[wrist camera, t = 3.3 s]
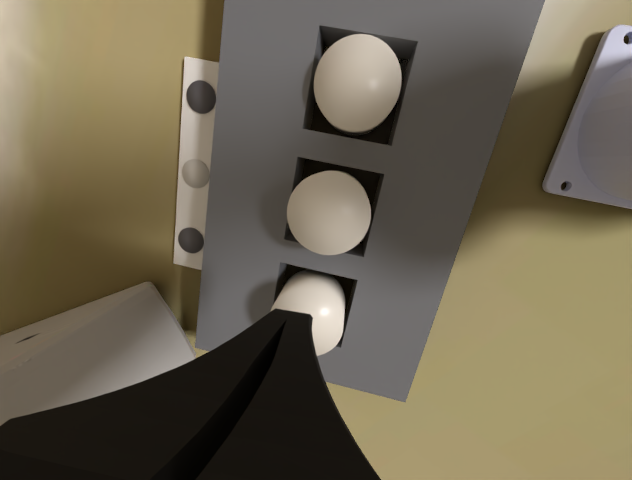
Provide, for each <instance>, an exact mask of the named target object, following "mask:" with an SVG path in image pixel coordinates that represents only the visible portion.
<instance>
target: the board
mask: <svg viewBox="0 0 632 480" xmlns="http://www.w3.org/2000/svg"><path fill="white" fill-rule="evenodd" d="M544 2H545V0H224V12H223V24H222V36H221V47H220V59H219V71H218V83H217V95H216V106H215V118H214V130H213V142H212V154H211V166H210V177H209V189H208V201H207V213H206V225H205V236H204V248H203V260H202V272H201V284H200V296H199V307H198V319H197V331H196V343H195V348H199V349H202V350H206V351H211V350H213V349H215V348H217V347H218V346H220V345H222V344H223V343H225V342H227V341H228V340H230V339H232V338H233V337H235V336H236V335H238V334H239V333H241V332H242V331H244V330H245V329H247V328H248V327H250V326H251V325H253V324H254V323H255V322H257V321H258V320H260V319H261V318H262V317H264V316H265V315H267V314H268V313H269V312H270V311H271V309H272V306H273V305H274V303H275V301H276V299H277V298H278V296H279V294H280V293H281V291H282V289H283V285H284V279H285V273H286V267H287V264H290V265H295V266H299V267H303V268H308V269H312V270H316V271H321V272H325V273H329V274H334V275H338V276H342V277H347V278H351V279H354V282H353V286H352V290H351V294H350V298H349V303H348V307H347V311H346V315H345V319H344V326H343V333H342V336H341V339H340V341H339V342H338V344H337V345H336V346H335V347H334V348H333V349H332V350H330V351H329V352H327V353H325V354H322V355H319V356H317V358H318V362H319V365H320V368H321V371H322V374H323V377H324V380H325V382H329V383H333V384H337V385H341V386H345V387H348V388H352V389H356V390H360V391H364V392H368V393H371V394H375V395H379V396H383V397H387V398H391V399H394V400H398V401H402V402H406V399H407V396H408V393H409V390H410V387H411V384H412V381H413V379H414V376H415V373H416V370H417V367H418V364H419V361H420V358H421V356H422V353H423V350H424V347H425V344H426V341H427V338H428V335H429V333H430V330H431V327H432V324H433V321H434V318H435V315H436V312H437V310H438V307H439V304H440V301H441V298H442V295H443V292H444V289H445V287H446V284H447V281H448V278H449V275H450V272H451V269H452V266H453V263H454V261H455V258H456V255H457V252H458V249H459V246H460V243H461V240H462V238H463V235H464V232H465V229H466V226H467V223H468V220H469V217H470V215H471V212H472V209H473V206H474V203H475V200H476V197H477V194H478V192H479V189H480V186H481V183H482V180H483V177H484V174H485V171H486V169H487V166H488V163H489V160H490V157H491V154H492V151H493V148H494V146H495V143H496V140H497V137H498V134H499V131H500V128H501V125H502V123H503V120H504V117H505V114H506V111H507V108H508V105H509V102H510V100H511V97H512V94H513V91H514V88H515V85H516V82H517V79H518V76H519V74H520V71H521V68H522V65H523V62H524V59H525V56H526V53H527V51H528V48H529V45H530V42H531V39H532V36H533V33H534V30H535V28H536V25H537V22H538V19H539V16H540V13H541V10H542V7H543V5H544ZM354 34H367V35H371V36H374V37H377V38H379V39H381V40H382V41H384V42H385V43H386V44H387V45H388V46H389V47H390V48H391V49H392V50H393V52H394V53H395V55H396V57H397V58H401V59H407V60H408V64H407V68H406V73H405V77H404V81H403V85H402V89H401V93H400V97H399V101H398V105H397V109H396V113H395V117H394V121H393V125H392V129H391V133H390V137H389V141H388V145H384V144H379V143H374V142H369V141H364V140H358V139H353V138H348V137H343V136H338V135H333V134H327V133H322V132H317V131H312V130H310V129H311V123H312V117H313V112H314V106H315V100H316V98H315V94H314V76H315V72H316V69H317V66H318V63H319V61H320V59H321V58H322V56H323V54H324V48H325V46H330V47H331V46H332V45H333V44H334V43H335V42H337V41H338V40H340V39H342V38H344V37H347V36H350V35H354ZM305 158H307V159H312V160H317V161H322V162H326V163H331V164H336V165H341V166H346V167H351V168H356V169H361V170H366V171H371V172H376V173H380V177H379V181H378V185H377V190H376V194H375V198H374V202H373V206H372V210H371V220H370V225H369V228H368V231H367V233H366V235H365V238H364V242H363V245H360V244H357V245H356V246H355V247H354V248H352V249H351V250H349V251H347V252H344V253H341V254H337V255H322V254H318V253H315V252H312V251H310V250H308V249H307V248H305V247H304V246H302V245H301V244H300V243H299V242H298V241H297V240H296V238H295V237H294V235H293V234H292V232H291V230H290V228H289V224H288V220H287V206H288V201H289V199H290V196H291V194H292V192H293V191H294V189H295V188H296V186H297V185H298V184H299V183H300V182H301V181H302V175H303V169H304V164H305Z"/></svg>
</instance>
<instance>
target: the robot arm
mask: <svg viewBox="0 0 632 480" xmlns="http://www.w3.org/2000/svg"><path fill="white" fill-rule="evenodd" d="M625 35H626V36H628V38H629V42H628V44H625V43H624V41H623V40H624V36H625ZM563 182H566V184H567V185H566V188H565V189H563V190H561V185H562V183H563ZM542 187H543V189H544V191H545V192H548V193H552V194H557V195H562V196H567V197H572V198H577V199H582V200H587V201H593V202H598V203H603V204H608V205H613V206H618V207H623V208H628V209H632V26H629V25H617V26H615V27H613V28H611V29H609V30H607V31H606V32H605V33H604V35H603V36H602V38H601V40H600V43H599V45H598V48H597V50H596V53H595V55H594V58H593V60H592V63H591V65H590V68H589V70H588V72H587V75H586V77H585V80H584V82H583V85H582V87H581V90H580V92H579V95H578V97H577V99H576V102H575V104H574V107H573V109H572V112H571V114H570V117H569V119H568V122H567V124H566V127H565V129H564V131H563V134H562V136H561V139H560V141H559V144H558V146H557V149H556V151H555V154H554V156H553V159H552V161H551V163H550V166H549V168H548V171H547V173H546V176H545V178H544V181H543V184H542ZM312 322H313V317H312V316H311V315H310V314H306V313H300V312H294V311H288V310H282V309H276V308H275V309H274V310H272V311H271V312H269V313H268V314H267V315H265V316H264V317H262V318H261V319H260V320H258V321H257V322H255V323H254V324H253V325H251V326H250V327H248V328H247V329H245V330H244V331H242V332H241V333H239V334H238V335H236V336H235V337H233V338H232V339H230V340H228V341H227V342H225V343H223V344H222V345H220V346H218V347H217V348H215V349H213V350H211V351H210V352H208V353H206V354H204V355H202V356H200V357H198V358H196V359H194V360H192V361H190V362H188V363H186V364H184V365H181V366H179V367H177V368H174V369H172V370H169V371H167V372H164V373H162V374H159V375H157V376H154V377H152V378H149V379H147V380H145V381H142V382H139V383H136V384H134V385H131V386H128V387H125V388H122V389H119V390H116V391H113V392H110V393H106V394H103V395H100V396H97V397H93V398H90V399H86V400H83V401H79V402H76V403H72V404H68V405H64V406H60V407H56V408H52V409H48V410H44V411H40V412H36V413H32V414H29V415H24V416H20V417H16V418H11V419H9V420H8V421H6V422H5V423H3V424H2V425H1V426H0V480H381V479H380V478H379V476H378V475H377V473H376V472H375V471H374V469H373V468H372V466H371V465H370V463H369V462H368V460H367V459H366V457H365V456H364V454H363V453H362V451H361V449H360V448H359V446H358V445H357V443H356V442H355V440H354V438H353V436H352V435H351V433H350V431H349V429H348V427H347V426H346V424H345V422H344V420H343V419H342V417H341V415H340V413H339V411H338V409H337V407H336V405H335V403H334V401H333V399H332V397H331V394H330V392H329V390H328V387H327V385H326V382H325V380H324V377H323V374H322V371H321V368H320V365H319V362H318V358H317V355H316V351H315V346H314V342H313V335H312Z"/></svg>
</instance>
